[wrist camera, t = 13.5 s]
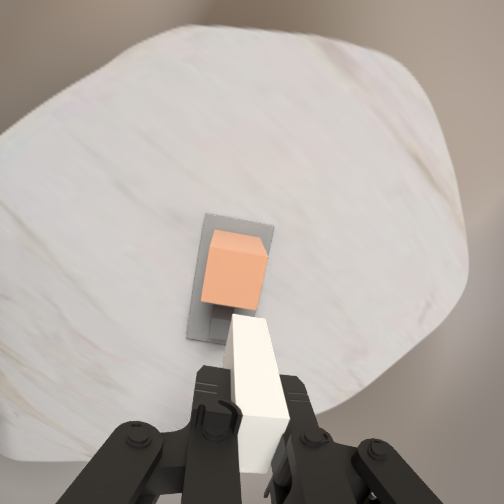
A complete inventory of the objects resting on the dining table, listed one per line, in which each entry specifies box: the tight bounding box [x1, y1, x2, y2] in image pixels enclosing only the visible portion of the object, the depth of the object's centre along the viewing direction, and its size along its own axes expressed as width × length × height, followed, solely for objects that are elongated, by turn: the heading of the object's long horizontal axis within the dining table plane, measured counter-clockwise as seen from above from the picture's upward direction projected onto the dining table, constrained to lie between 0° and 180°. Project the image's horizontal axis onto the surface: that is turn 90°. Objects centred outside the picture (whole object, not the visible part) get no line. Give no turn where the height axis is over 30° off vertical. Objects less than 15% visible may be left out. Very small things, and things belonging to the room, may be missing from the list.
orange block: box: [201, 229, 268, 310], centre depth 33 cm, size 5×5×9 cm
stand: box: [186, 213, 274, 344], centre depth 35 cm, size 8×16×9 cm, turn 169°
